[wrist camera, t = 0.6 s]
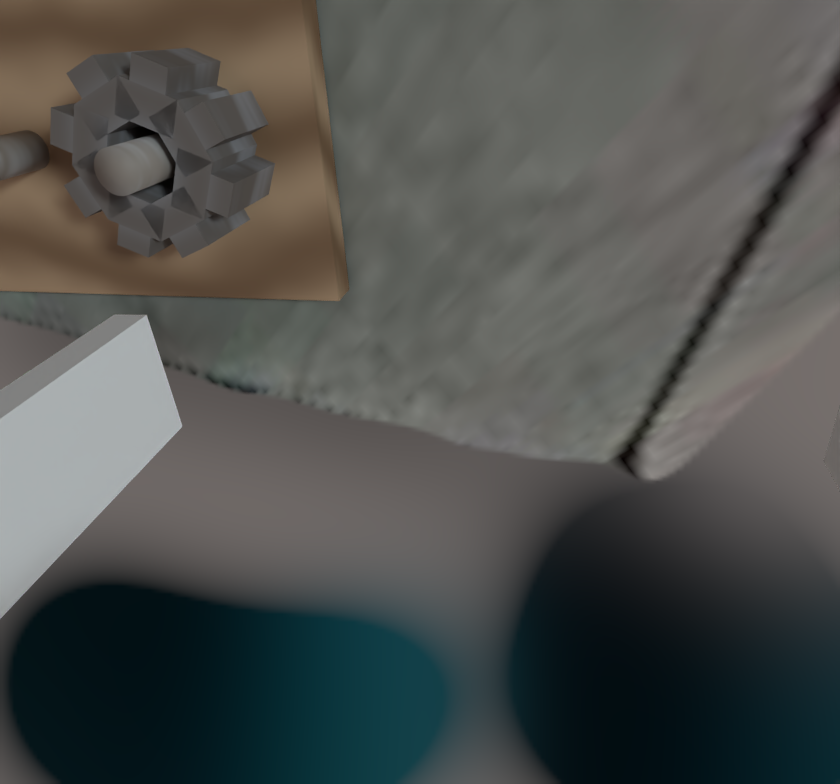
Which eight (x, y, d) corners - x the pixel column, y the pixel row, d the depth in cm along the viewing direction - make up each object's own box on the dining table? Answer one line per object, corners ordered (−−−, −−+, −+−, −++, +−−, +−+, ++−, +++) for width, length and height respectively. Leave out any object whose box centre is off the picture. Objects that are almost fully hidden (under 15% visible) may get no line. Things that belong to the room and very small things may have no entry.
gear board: (-117, -19, 36) (-299, -28, 29) (308, -60, 31) (221, -84, 23) (2, 280, 45) (-113, 332, 38) (349, 289, 40) (295, 352, 32)
